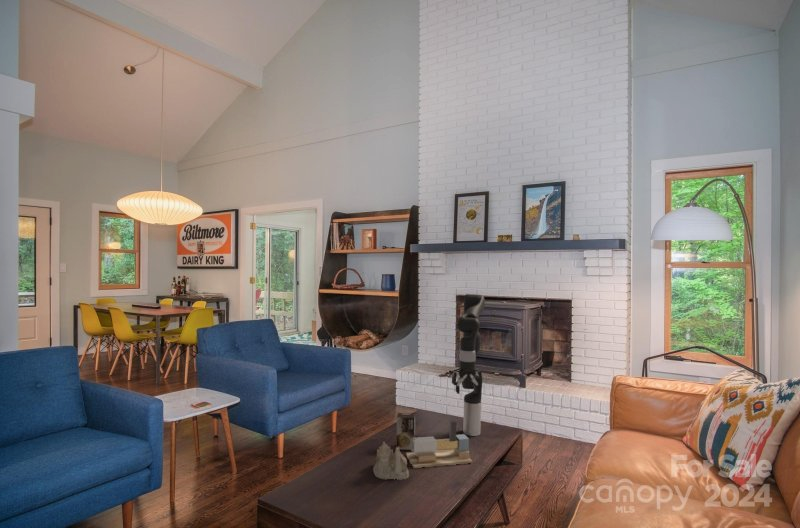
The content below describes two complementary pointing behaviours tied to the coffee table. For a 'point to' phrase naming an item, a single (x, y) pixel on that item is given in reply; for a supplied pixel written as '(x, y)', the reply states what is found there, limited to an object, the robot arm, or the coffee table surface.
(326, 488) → the coffee table surface
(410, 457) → the birch board
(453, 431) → the multicoloured piece
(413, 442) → the grey and tan block
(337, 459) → the coffee table surface
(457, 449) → the slate-blue socket
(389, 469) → the ceramic cottage
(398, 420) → the coffee box
